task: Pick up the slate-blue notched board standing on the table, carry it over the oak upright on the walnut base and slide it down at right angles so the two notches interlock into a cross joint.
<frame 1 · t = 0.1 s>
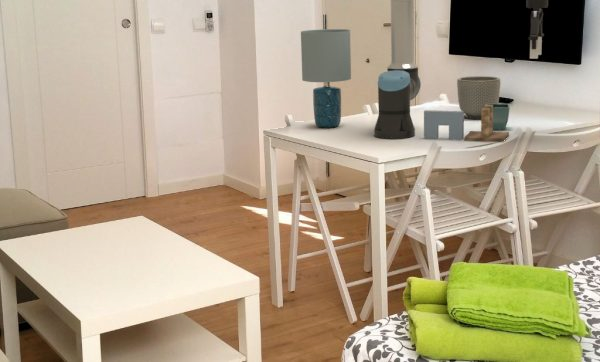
hand: (535, 56, 322), 28 cm above the table, fingers open, 13 cm apart
planter: (478, 118, 366), on the table
slotted board: (443, 138, 323), on the table
flower pot: (497, 129, 339), on the table
jig: (486, 138, 322), on the table
lamp: (327, 126, 357), on the table
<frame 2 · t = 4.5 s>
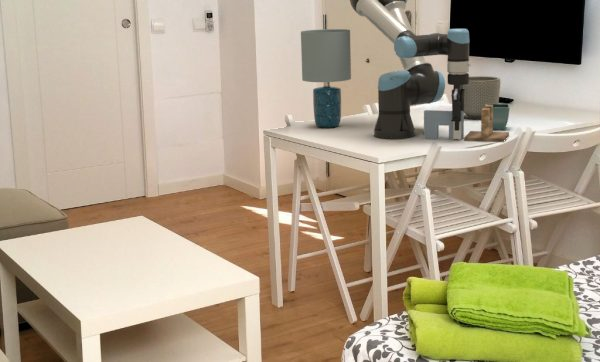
hand: (458, 138, 322), 0 cm above the table, fingers closed on slotted board, 2 cm apart
slotted board: (443, 138, 323), on the table, touching gripper
everything else where it was.
when the fingers open (3 cm above the table, at t = 10.0 s): slotted board drops 2 cm, resting on jig.
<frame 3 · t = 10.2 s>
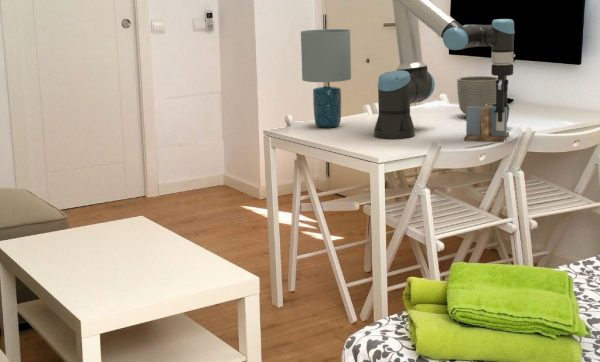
hand: (501, 129, 319), 3 cm above the table, fingers open, 5 cm apart
slotted board: (486, 134, 321), point 1 cm above the table, touching jig
everything else where it was.
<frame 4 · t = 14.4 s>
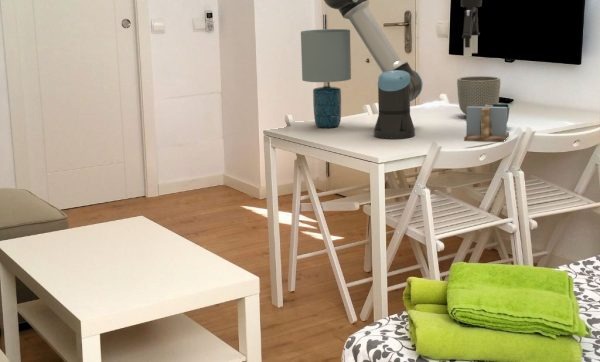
hand: (470, 54, 328), 29 cm above the table, fingers open, 13 cm apart
nothing on the table moved.
at the end: slotted board 0.2 cm off-centre on the jig, point 1.2 cm above the jig's base; slotted board tilted 0°; the gripper is holding nothing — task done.
